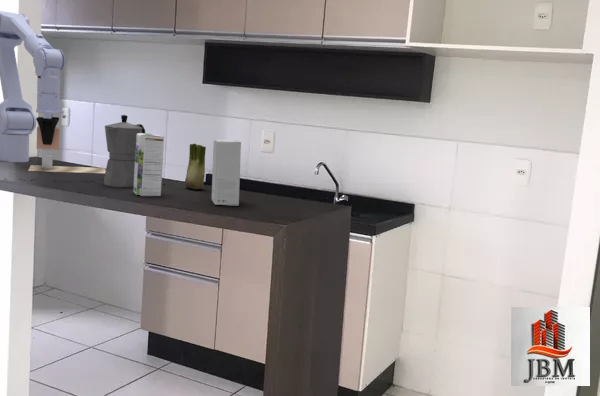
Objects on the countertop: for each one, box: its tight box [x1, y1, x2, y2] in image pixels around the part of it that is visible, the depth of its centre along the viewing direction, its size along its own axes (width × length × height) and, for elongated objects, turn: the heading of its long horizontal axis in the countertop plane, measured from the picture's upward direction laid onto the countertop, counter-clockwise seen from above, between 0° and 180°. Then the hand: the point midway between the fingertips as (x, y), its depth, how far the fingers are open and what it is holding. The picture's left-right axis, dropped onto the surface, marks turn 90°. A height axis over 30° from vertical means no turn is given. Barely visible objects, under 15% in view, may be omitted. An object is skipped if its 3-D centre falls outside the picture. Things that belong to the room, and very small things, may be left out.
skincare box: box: [211, 139, 242, 207], centre depth 145 cm, size 8×6×15 cm
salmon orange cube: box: [36, 125, 60, 150], centre depth 171 cm, size 6×6×6 cm
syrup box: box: [132, 132, 165, 197], centre depth 148 cm, size 6×6×14 cm
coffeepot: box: [102, 114, 146, 189], centre depth 160 cm, size 15×9×18 cm, turn 159°
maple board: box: [27, 164, 106, 175], centre depth 174 cm, size 20×12×1 cm, turn 110°
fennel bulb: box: [184, 143, 207, 190], centre depth 162 cm, size 6×5×12 cm
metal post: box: [41, 149, 54, 169], centre depth 172 cm, size 3×3×6 cm
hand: (47, 143), depth 171 cm, fingers closed on salmon orange cube, 6 cm apart
